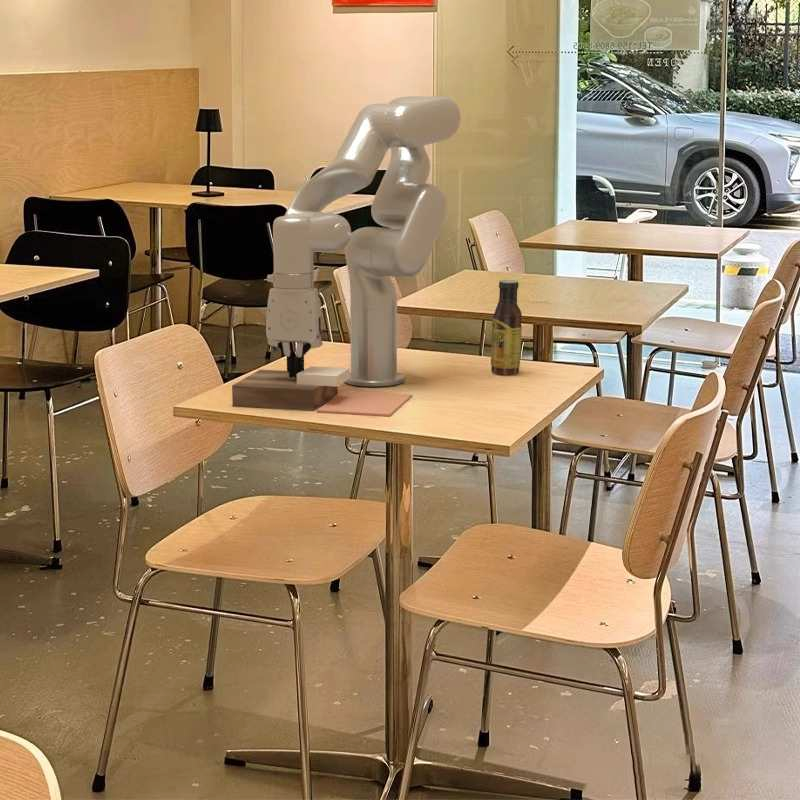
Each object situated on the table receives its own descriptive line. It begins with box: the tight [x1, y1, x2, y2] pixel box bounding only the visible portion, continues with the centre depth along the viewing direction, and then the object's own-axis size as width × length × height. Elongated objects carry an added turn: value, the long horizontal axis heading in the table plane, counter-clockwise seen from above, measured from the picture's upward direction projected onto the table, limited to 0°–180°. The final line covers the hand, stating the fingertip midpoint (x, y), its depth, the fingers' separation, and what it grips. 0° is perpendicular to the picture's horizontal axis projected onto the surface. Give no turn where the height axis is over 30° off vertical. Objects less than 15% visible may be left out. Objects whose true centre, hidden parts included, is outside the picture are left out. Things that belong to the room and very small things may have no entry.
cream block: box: [297, 365, 351, 388], centre depth 261 cm, size 8×8×2 cm
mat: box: [316, 390, 413, 417], centre depth 260 cm, size 18×14×1 cm
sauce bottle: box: [490, 279, 523, 376], centre depth 287 cm, size 6×6×20 cm
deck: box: [231, 369, 338, 412], centre depth 263 cm, size 16×16×4 cm
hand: (295, 376), depth 262 cm, fingers closed
